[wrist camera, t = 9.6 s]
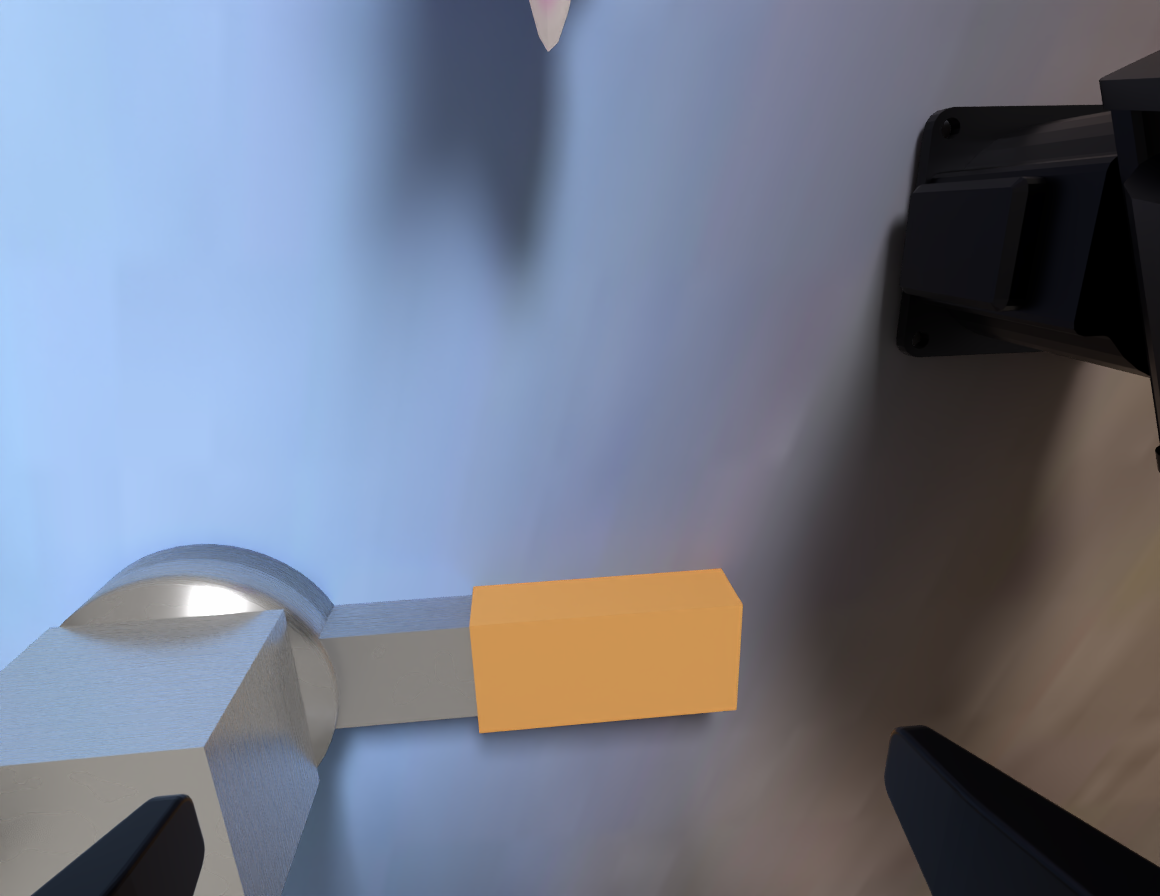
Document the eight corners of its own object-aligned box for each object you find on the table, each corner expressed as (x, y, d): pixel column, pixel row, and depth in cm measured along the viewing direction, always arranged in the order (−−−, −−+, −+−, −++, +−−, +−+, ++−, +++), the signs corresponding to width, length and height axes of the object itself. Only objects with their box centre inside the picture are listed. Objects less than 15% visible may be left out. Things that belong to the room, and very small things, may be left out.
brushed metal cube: (283, 608, 18) (203, 747, 13) (319, 781, 20) (260, 954, 15) (49, 627, 18) (-119, 777, 13) (110, 801, 20) (-17, 987, 15)
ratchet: (723, 509, 21) (790, 601, 16) (714, 715, 24) (768, 850, 19) (52, 553, 19) (-110, 672, 14) (122, 769, 22) (5, 933, 17)
